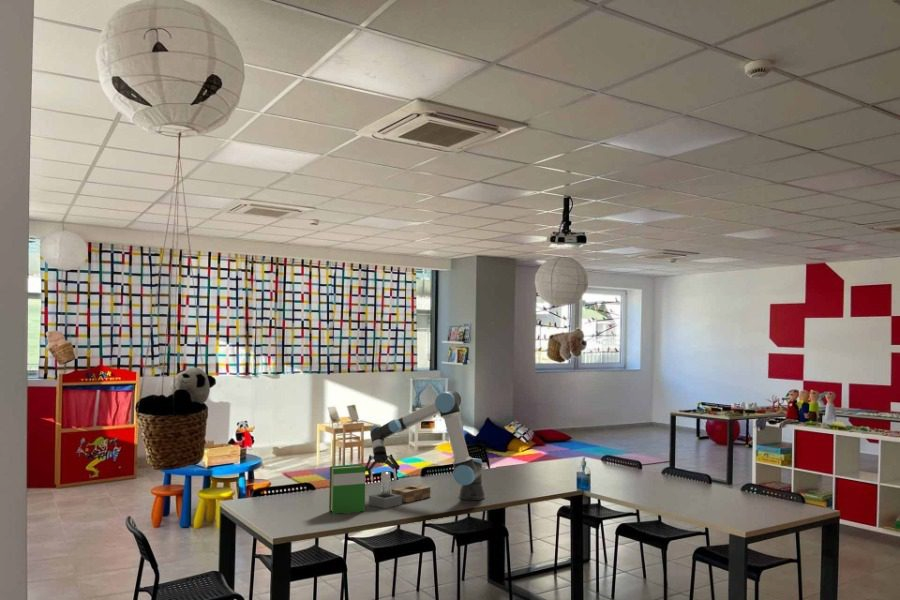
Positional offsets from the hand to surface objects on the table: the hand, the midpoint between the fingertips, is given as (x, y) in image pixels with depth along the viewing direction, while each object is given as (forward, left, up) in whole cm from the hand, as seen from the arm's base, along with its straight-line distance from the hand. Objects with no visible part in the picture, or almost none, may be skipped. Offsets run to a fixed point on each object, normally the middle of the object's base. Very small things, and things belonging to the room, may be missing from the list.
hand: (384, 480), depth 388 cm
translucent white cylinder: (-2, +1, -13) cm, 13 cm away
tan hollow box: (-1, -20, -13) cm, 24 cm away
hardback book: (+1, +26, -13) cm, 29 cm away
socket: (-2, +1, -13) cm, 13 cm away
